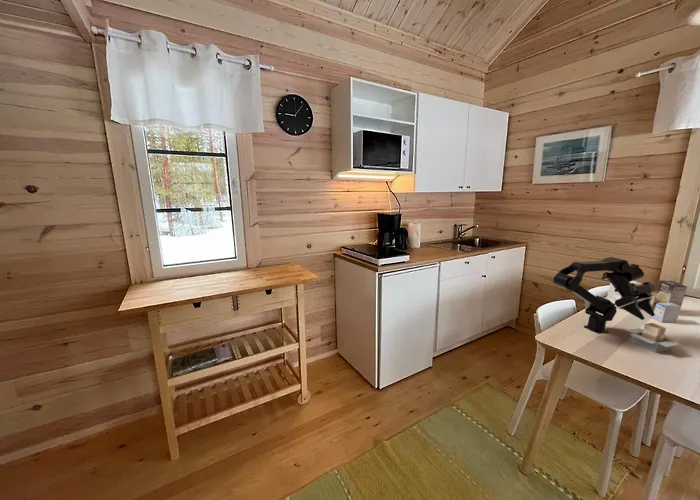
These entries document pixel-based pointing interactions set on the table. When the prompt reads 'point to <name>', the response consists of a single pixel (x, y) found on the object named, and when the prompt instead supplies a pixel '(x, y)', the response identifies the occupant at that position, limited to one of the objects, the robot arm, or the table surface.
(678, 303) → the coffee box
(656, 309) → the medicine box
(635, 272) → the robot arm
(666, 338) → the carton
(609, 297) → the supplement box
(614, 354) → the table surface
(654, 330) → the box
